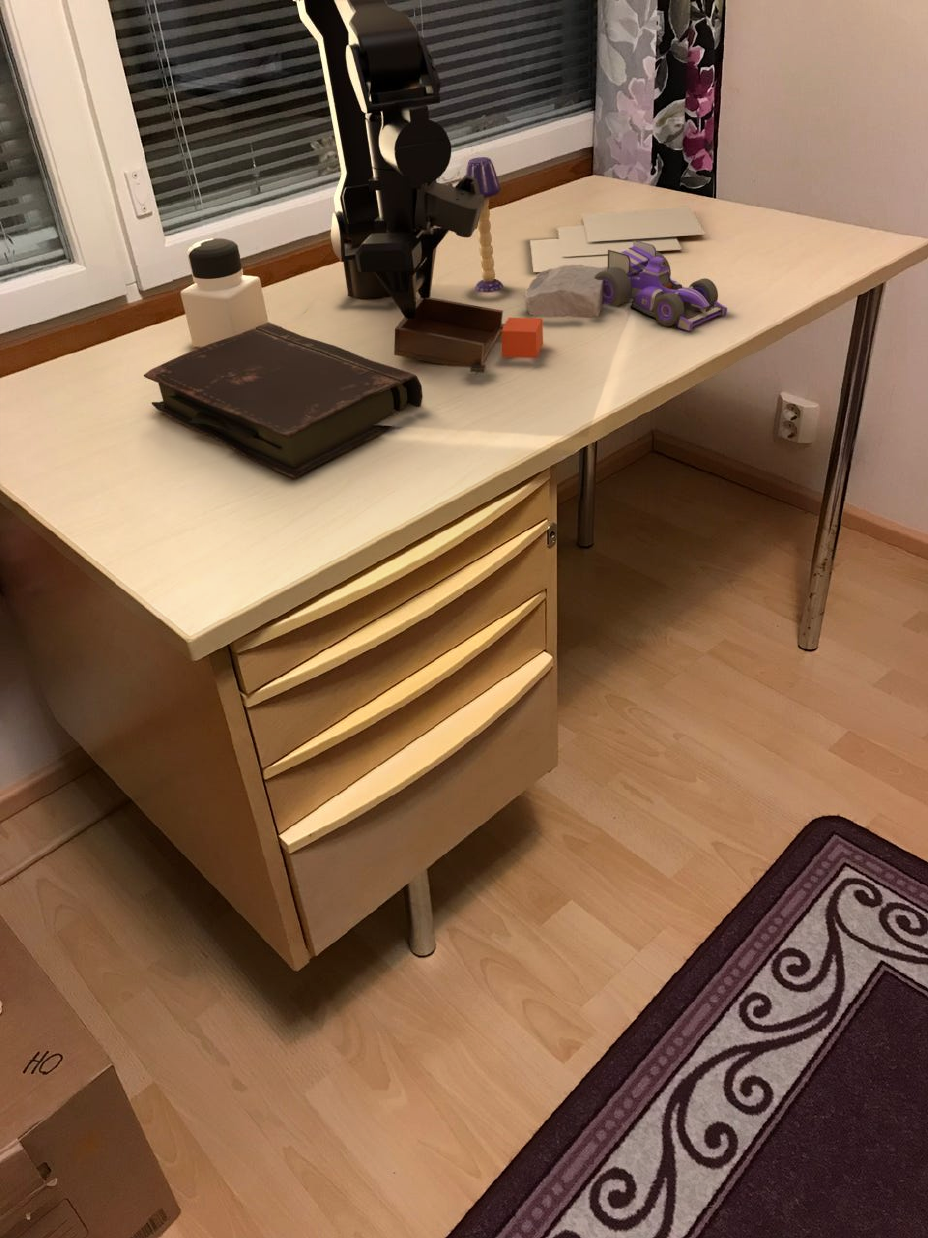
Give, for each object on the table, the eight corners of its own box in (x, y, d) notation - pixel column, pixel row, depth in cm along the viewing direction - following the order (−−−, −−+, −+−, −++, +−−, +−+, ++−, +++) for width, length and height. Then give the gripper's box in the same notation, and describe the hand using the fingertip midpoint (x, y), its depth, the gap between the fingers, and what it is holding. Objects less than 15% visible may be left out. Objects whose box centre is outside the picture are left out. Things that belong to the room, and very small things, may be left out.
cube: (535, 331, 111) (536, 365, 114) (542, 318, 114) (543, 351, 117) (500, 330, 112) (502, 364, 115) (508, 317, 115) (509, 350, 118)
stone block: (526, 337, 124) (605, 321, 121) (517, 299, 122) (597, 282, 119) (539, 304, 134) (613, 290, 131) (531, 269, 131) (607, 253, 128)
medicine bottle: (271, 331, 128) (252, 235, 120) (239, 353, 123) (217, 254, 115) (225, 326, 130) (204, 231, 123) (192, 347, 125) (168, 250, 118)
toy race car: (682, 336, 117) (685, 281, 113) (590, 305, 127) (591, 253, 123) (734, 312, 122) (739, 258, 118) (642, 284, 131) (644, 234, 127)
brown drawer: (389, 354, 114) (391, 294, 110) (415, 319, 122) (418, 263, 117) (480, 371, 113) (486, 312, 108) (500, 335, 120) (506, 278, 116)
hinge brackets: (469, 381, 112) (468, 370, 111) (497, 332, 122) (497, 321, 121) (483, 382, 111) (482, 370, 110) (510, 333, 122) (510, 321, 121)
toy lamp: (464, 298, 132) (455, 163, 122) (477, 285, 136) (469, 153, 125) (498, 300, 131) (492, 164, 120) (511, 288, 134) (505, 154, 124)
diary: (280, 357, 121) (272, 317, 118) (425, 412, 106) (420, 368, 103) (147, 414, 111) (135, 372, 108) (287, 484, 96) (278, 437, 93)
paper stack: (717, 260, 136) (717, 255, 136) (533, 272, 138) (533, 267, 137) (689, 210, 155) (689, 205, 154) (527, 221, 156) (527, 216, 156)
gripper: (450, 184, 97) (466, 339, 106) (492, 137, 111) (503, 278, 120) (342, 189, 100) (367, 339, 109) (397, 142, 114) (415, 279, 123)
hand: (418, 307), depth 115 cm, fingers closed on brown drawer, 6 cm apart
